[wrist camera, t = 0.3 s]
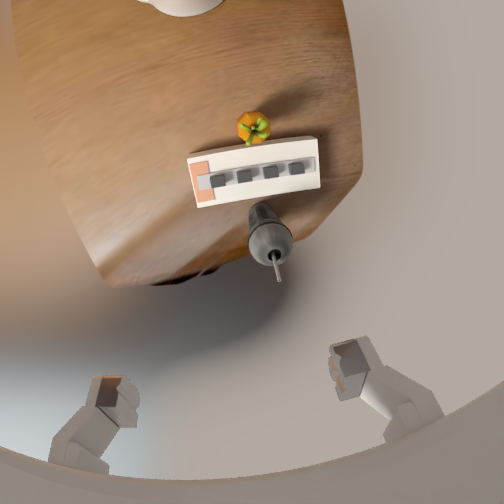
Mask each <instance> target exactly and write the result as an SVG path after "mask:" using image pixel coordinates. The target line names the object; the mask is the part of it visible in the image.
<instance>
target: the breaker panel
mask: <svg viewBox="0 0 504 504" xmlns="http://www.w3.org/2000/svg"><path fill="white" fill-rule="evenodd" d="M187 162H188V166H189V171H190V175H191V180H192V184H193V189H194V193H195V198H196V202H197V206H198V208H200V207H205V206H210V205H216V204H221V203H227V202H232V201H238V200H244V199H250V198H256V197H262V196H268V195H274V194H281V193H287V192H294V191H301V190H308V189H315V188H320V172H319V156H318V142H317V139H316V138H314V137H312V136H300V137H291V138H282V139H274V140H267V141H263V142H262V143H254V144H251V145H250V146H247V145H246V144H240V145H234V146H228V147H222V148H217V149H211V150H206V151H201V152H196V153H191V154H189V155H188V158H187Z"/></svg>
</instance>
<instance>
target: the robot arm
mask: <svg viewBox="0 0 504 504" xmlns="http://www.w3.org/2000/svg"><path fill="white" fill-rule="evenodd" d="M138 1H141V2H145V3H150V4H152V5H153V6H154V7H156V8H157V9H158V10H160V11H161V12H163V13H166V14H169V15H172V16H180V17H186V16H194V15H199V14H202V13H205V12H207V11H209V10H211V9H213V8H215V7H216V6H218V5H219V4H220V3H221V2H222V1H223V0H138ZM329 352H330V355H331V356H330V357H329V358H328V359H329V360H328V365H329V371H330V375H331V377H332V379H333V380H334V381H335V382H336V387H335V389H336V392H337V395H338V397H339V400H340V401H344V400H348V399H351V398H355V397H359V396H360V398H362V399H363V400H364V401H366V402H367V403H368V404H369V405H370V406H372V407H373V408H374V409H376V410H377V411H378V412H379V413H381V414H382V415H383V416H385V417H386V418H387V419H388V420H390V423H389V424H388V426H387V427H386V429H385V431H384V433H383V436H384V438H385V441H386V443H384V444H382V445H379V446H376V447H373V448H371V449H368V450H365V451H362V452H359V453H355V454H352V455H349V456H346V457H342V458H339V459H335V460H331V461H328V462H324V463H320V464H316V465H311V466H307V467H302V468H298V469H293V470H288V471H282V472H276V473H270V474H263V475H255V476H247V477H237V478H225V479H211V480H210V479H208V480H160V479H143V478H132V477H122V476H115V475H109V465H108V464H107V463H106V462H104V461H102V460H101V459H100V457H101V456H102V454H103V453H104V451H105V450H106V448H107V446H108V445H109V444H110V442H111V441H112V439H113V438H114V436H115V435H116V433H117V432H118V430H119V429H120V428H121V427H122V428H136V426H137V418H138V414H137V412H136V409H137V408H138V406H139V403H140V397H139V392H138V389H137V388H136V386H135V385H133V384H131V383H130V379H129V378H128V376H127V375H95V376H94V377H93V378H92V381H91V385H90V388H89V392H88V396H87V400H86V404H85V406H82V407H81V408H80V409H79V410H78V411H77V412H76V414H75V415H74V416H73V417H72V418H71V419H70V420H69V421H68V422H67V423H66V424H65V425H64V427H62V429H61V430H60V431H59V432H58V433H57V434H56V435H55V436H54V437H53V440H52V444H51V448H50V453H49V458H48V462H46V461H42V460H39V459H35V458H32V457H29V456H26V455H23V454H20V453H17V452H14V451H11V450H9V449H6V448H4V447H1V446H0V504H504V381H502V382H501V383H499V384H498V385H496V386H495V387H493V388H492V389H491V390H489V391H488V392H486V393H485V394H483V395H481V396H480V397H478V398H476V399H475V400H473V401H472V402H470V403H468V404H467V405H465V406H463V407H461V408H459V409H458V410H456V411H454V412H452V413H451V414H449V415H447V416H444V414H443V412H442V410H441V408H440V406H439V404H438V402H437V400H436V398H435V397H434V394H433V393H432V391H431V390H429V389H427V388H425V387H424V386H422V385H420V384H418V383H417V382H415V381H413V380H411V379H410V378H408V377H406V376H404V375H403V374H401V373H399V372H398V371H396V370H394V369H392V368H391V367H389V366H383V364H382V362H381V360H380V358H379V356H378V354H377V352H376V350H375V348H374V346H373V345H372V343H371V341H370V339H369V337H367V336H363V337H360V338H356V339H351V340H347V341H344V342H340V343H337V344H333V345H330V347H329Z"/></svg>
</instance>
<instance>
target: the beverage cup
mask: <svg viewBox="0 0 504 504" xmlns="http://www.w3.org/2000/svg"><path fill="white" fill-rule="evenodd" d="M292 248H293V243H292V234H291V232H290V230H289V229H288V228H287V227H286V226H285V225H284V224H283V223H282V222H281V221H280V220H279V218H278V217H277V215H276V214H275V212H274V211H273V210H272V209H271V208H270V206H269V205H268V204H266V203H256V204H254V205H253V206H252V207H251V208H250V211H249V238H248V249H249V251H250V253H251V254H252V256H253V257H254V258H255V259H256V260H257V261H258V262H259V263H262V264H263V265H267V266H274V267H275V271H276V275H277V279H278V281H281V277H280V273H279V269H278V265H279V264H281V263H283V262H284V261H285V260H286V259H287V258H288V257H289V255H290V254H291V251H292Z"/></svg>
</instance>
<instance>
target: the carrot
mask: <svg viewBox="0 0 504 504" xmlns="http://www.w3.org/2000/svg"><path fill="white" fill-rule="evenodd" d="M237 132H238V136H240V137H241V138H242V139H243V140H244V141H246V145H247V146H250V145H251V144H254V143H262V142H263V141H264V140H265V139H266V138H267V137H268V136H269V135H270V134H271V132H270V120H269V119H267V118H266V117H265V116H264V115H263V114H262V113H261V112H258V111H253V112H244V113H243V114H242V115H241V116H240V117H239V119H238V120H237Z"/></svg>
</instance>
